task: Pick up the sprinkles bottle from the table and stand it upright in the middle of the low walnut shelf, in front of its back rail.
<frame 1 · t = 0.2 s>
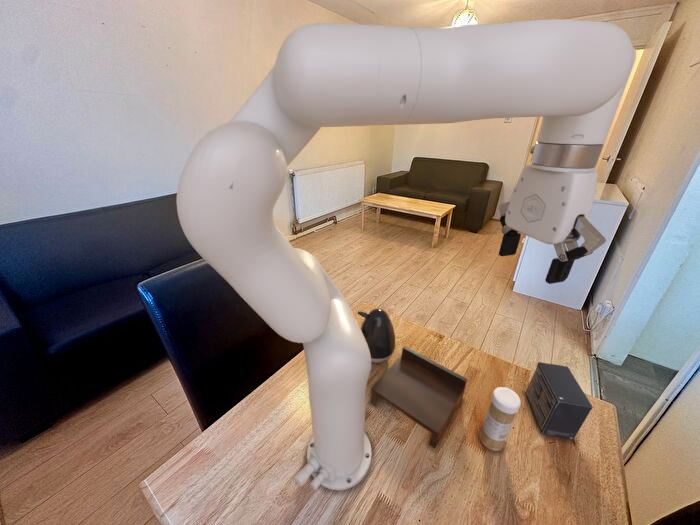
hand: (528, 267, 47), 37 cm above the table, tool pointing down, fingers open, 9 cm apart
shelf: (416, 402, 66), on the table
pump dispenser: (375, 355, 79), on the table
sprinkles bottle: (490, 441, 58), on the table
small box: (547, 416, 63), on the table
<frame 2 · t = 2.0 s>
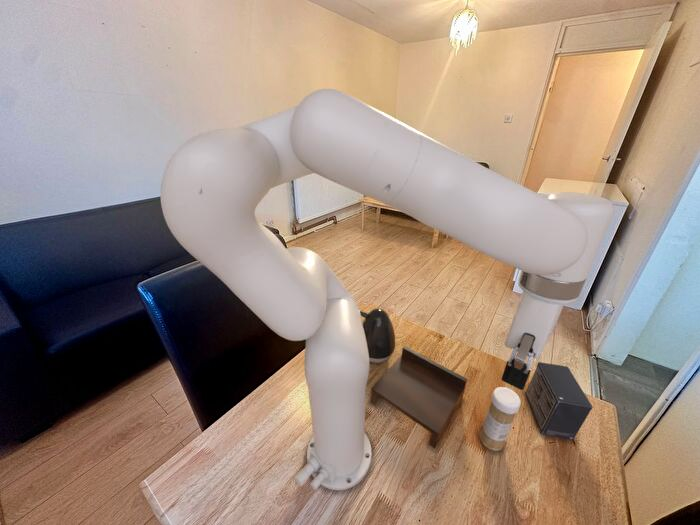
hand: (519, 366, 49), 21 cm above the table, tool pointing down, fingers open, 9 cm apart
nothing on the table moved.
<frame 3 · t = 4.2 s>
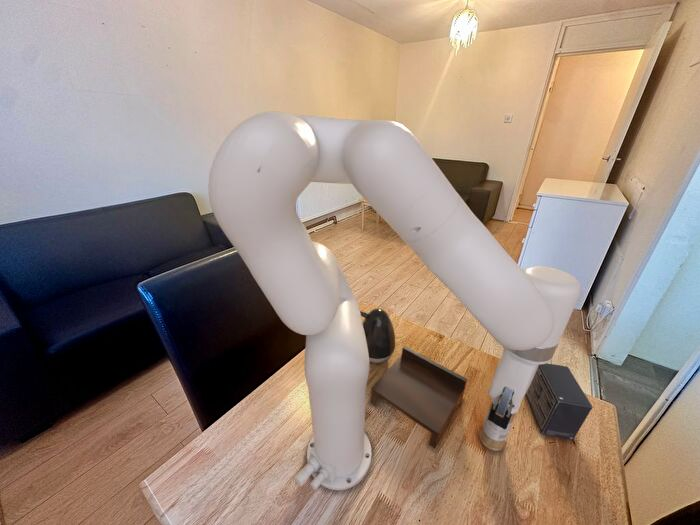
hand: (501, 412, 54), 9 cm above the table, tool pointing down, fingers closed on sprinkles bottle, 4 cm apart
sprinkles bottle: (490, 441, 58), on the table, touching gripper
everything else where it was.
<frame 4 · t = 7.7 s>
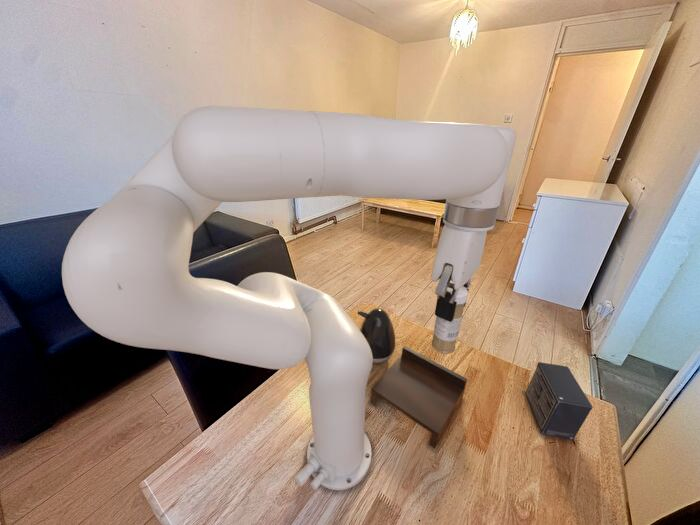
hand: (450, 310, 52), 28 cm above the table, tool pointing down, fingers closed on sprinkles bottle, 4 cm apart
sprinkles bottle: (442, 347, 56), point 19 cm above the table, touching gripper
everything else where it was.
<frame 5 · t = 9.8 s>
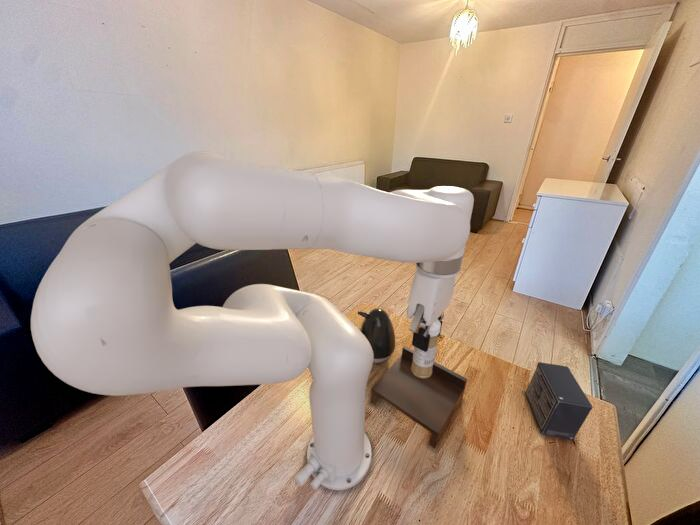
hand: (426, 339, 58), 19 cm above the table, tool pointing down, fingers closed on sprinkles bottle, 4 cm apart
sprinkles bottle: (421, 371, 62), point 10 cm above the table, touching gripper
everything else where it was.
when the fingers open (14 cm above the table, at t = 11.4 s): sprinkles bottle stays where it is, resting on shelf.
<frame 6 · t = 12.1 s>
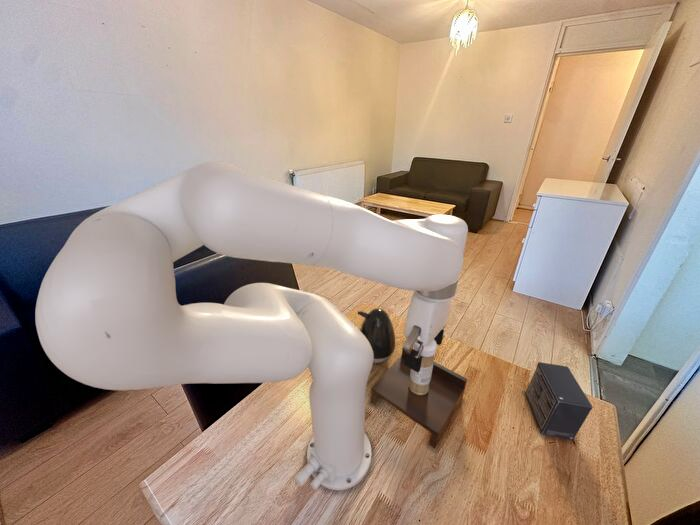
hand: (423, 354, 59), 15 cm above the table, tool pointing down, fingers open, 9 cm apart
sprinkles bottle: (418, 388, 64), point 5 cm above the table, touching shelf
everything else where it was.
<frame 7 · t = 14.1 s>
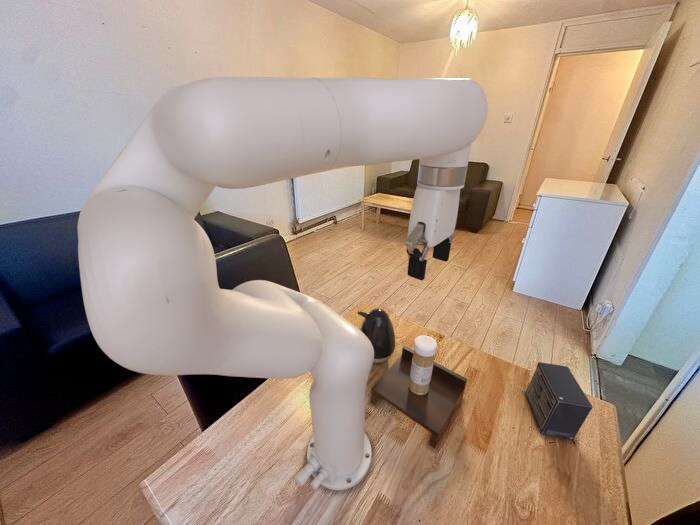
hand: (428, 267, 54), 33 cm above the table, tool pointing down, fingers open, 9 cm apart
nothing on the table moved.
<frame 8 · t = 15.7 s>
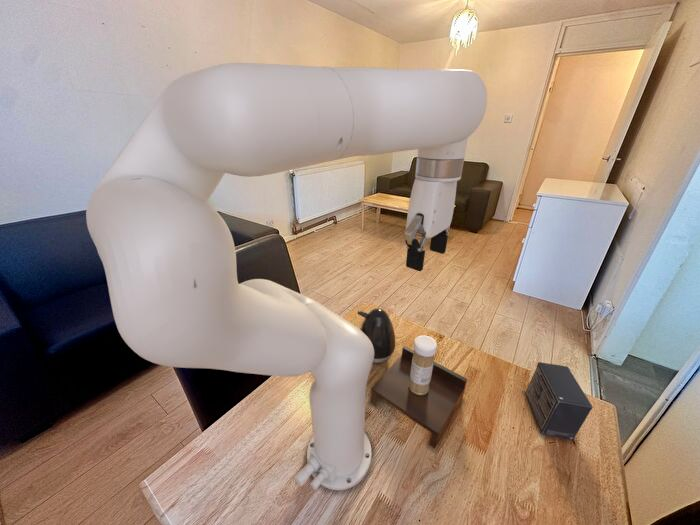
hand: (426, 259, 56), 34 cm above the table, tool pointing down, fingers open, 9 cm apart
nothing on the table moved.
at the end: sprinkles bottle inside the target area (0.5 cm from its centre), point 4.8 cm above the table; sprinkles bottle tilted 0°; the gripper is holding nothing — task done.
